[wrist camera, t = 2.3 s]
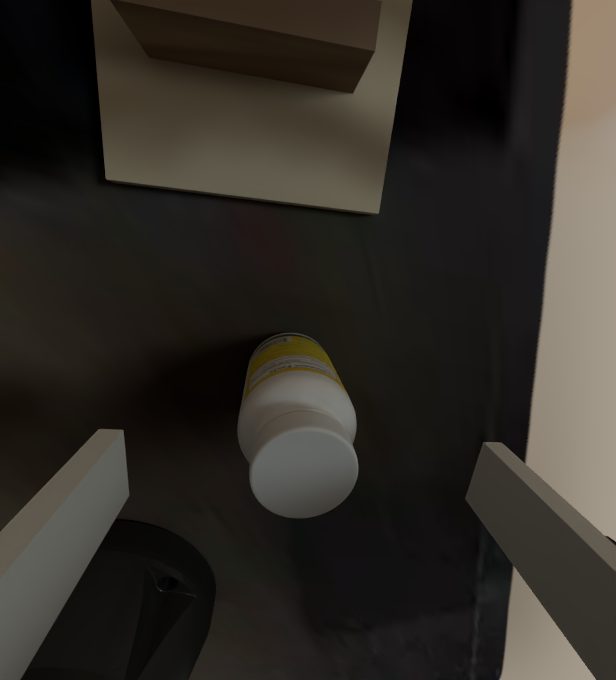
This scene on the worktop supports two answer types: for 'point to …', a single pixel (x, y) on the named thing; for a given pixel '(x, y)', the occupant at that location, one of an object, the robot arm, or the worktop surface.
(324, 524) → the worktop surface
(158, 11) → the collar board
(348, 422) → the supplement bottle
